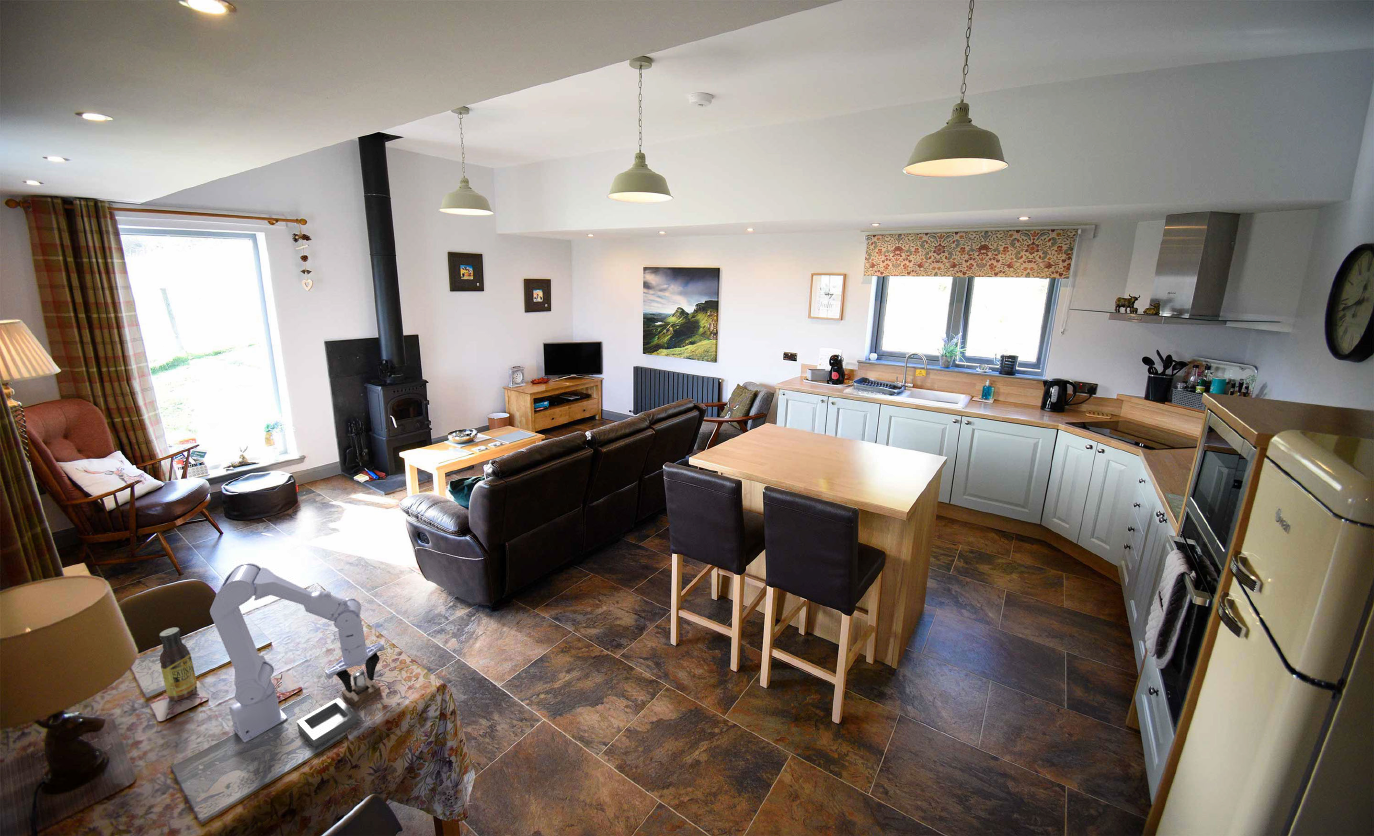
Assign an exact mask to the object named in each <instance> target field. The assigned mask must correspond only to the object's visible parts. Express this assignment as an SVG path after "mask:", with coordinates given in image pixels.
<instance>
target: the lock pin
mask: <svg viewBox="0 0 1374 836" xmlns="http://www.w3.org/2000/svg"><path fill="white" fill-rule="evenodd" d="M365 678H366V676H365V671H364V670H357V671H356V672H353V674H352V680H353V685H354V687H355V693H356V694H357V695H359V694H361V693H363V692H364V691H366V690H367V686H366V680H365Z"/></svg>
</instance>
